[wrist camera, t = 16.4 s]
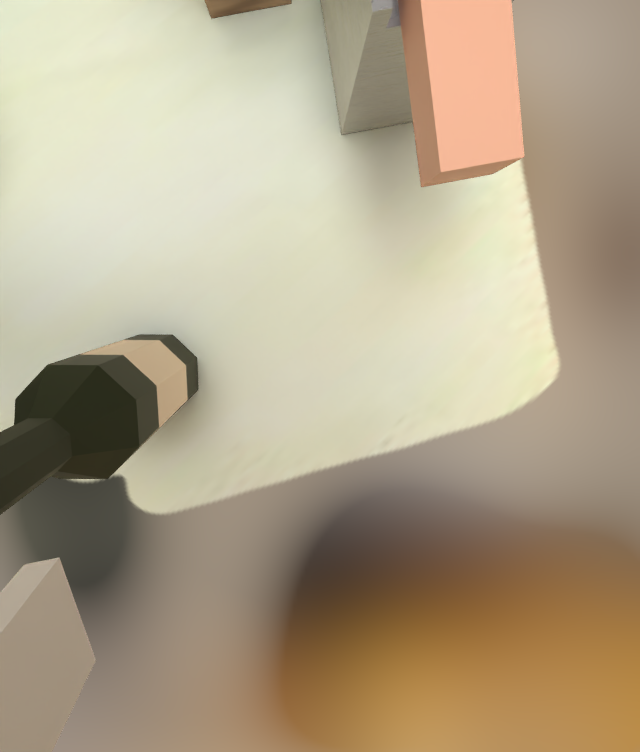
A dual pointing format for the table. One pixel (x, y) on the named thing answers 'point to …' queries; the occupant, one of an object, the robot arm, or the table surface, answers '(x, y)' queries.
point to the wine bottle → (93, 412)
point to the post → (239, 6)
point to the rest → (367, 63)
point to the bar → (462, 87)
